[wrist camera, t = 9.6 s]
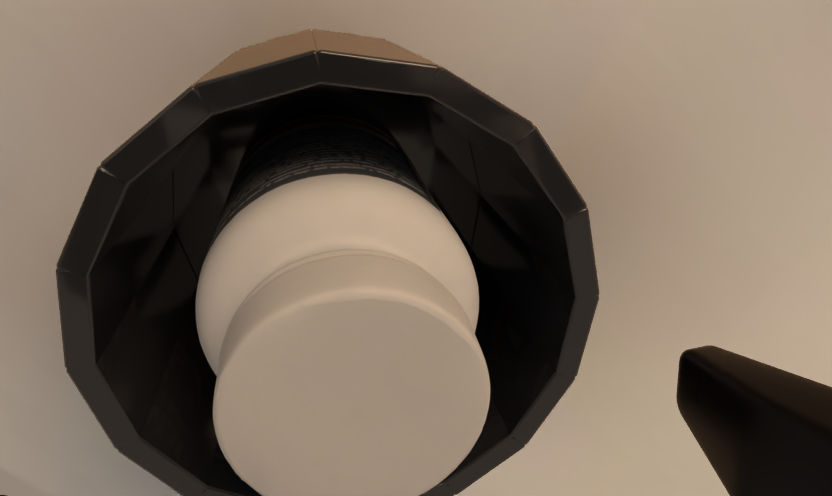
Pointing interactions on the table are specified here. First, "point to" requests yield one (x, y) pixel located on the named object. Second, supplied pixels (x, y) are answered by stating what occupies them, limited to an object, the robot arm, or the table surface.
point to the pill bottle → (339, 319)
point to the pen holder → (202, 206)
